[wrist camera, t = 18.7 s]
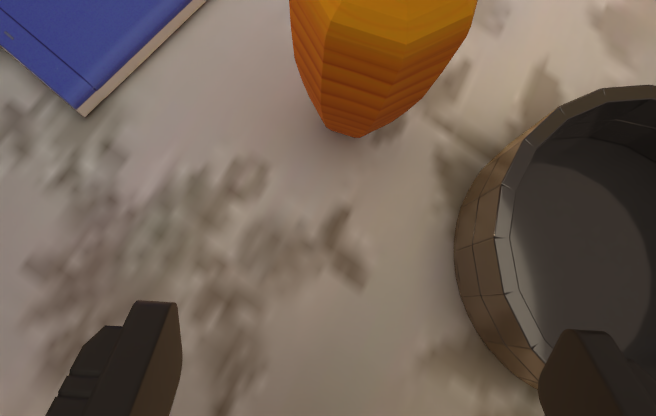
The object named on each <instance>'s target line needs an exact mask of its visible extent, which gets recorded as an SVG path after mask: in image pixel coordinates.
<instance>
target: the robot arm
mask: <svg viewBox="0 0 656 416" xmlns="http://www.w3.org/2000/svg"><path fill="white" fill-rule="evenodd" d="M181 369H182V344H181V335H180V325H179V316H178V308H177V304H176V303H174V302H159V301H143V300H137V301H136V302H135V303H134V304H133V306H132V308H131V310H130V312H129V314H128V316H127V318H126V320H125V323H124V325H123V327H122V326H106V325H105V326H104V327H103V328H102V329H101V330H100V331H99V332H98V333H96V334H95V335H94V336H93V337H92V338H91V339H90V340H89V341H88V342H87V343H86V344H84V345H83V347H82V349H81V350H80V352H79V354H78V356H77V358H76V360H75V362H74V363H73V365H72V367H71V369H70V373H69V376H66V378H65V380H64V382H63V384H62V386H61V388H60V389H59V391H58V396H57V397H55V399H54V401H53V402H52V404H51V406H50V408H49V410H48V412H47V414H46V415H45V416H169V414H170V410H171V407H172V404H173V400H174V397H175V394H176V390H177V387H178V384H179V380H180V375H181ZM538 394H539V399H540V403H541V406H542V408H543V411H544V413H545V416H656V380H655V379H654V378H653V377H652V376H650V375H649V374H648V373H647V372H646V371H645V370H644V369H643V368H642V367H641V366H639V365H638V364H637V363H636V362H635V361H634V360H633V359H626V358H625V356H624V355H623V353H622V352H621V350H620V349H619V347H618V346H617V344H616V342H615V341H614V339H613V338H612V337H611V336H610V335H609V334H608V333H606V332H604V331H592V330H577V329H566V330H564V331H563V332H562V333H561V335H560V337H559V339H558V341H557V342H556V344H555V346H554V348H553V350H552V352H551V354H550V356H549V358H548V360H547V362H546V364H545V366H544V368H543V370H542V372H541V374H540V377H539V381H538Z"/></svg>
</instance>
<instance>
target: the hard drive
mask: <svg viewBox="0 0 656 416" xmlns="http://www.w3.org/2000/svg"><path fill="white" fill-rule="evenodd" d="M206 1H207V0H0V46H1V47H2V48H3V49H5V50H6V51H7V52H8V53H9V54H10V55H12V56H13V57H14V58H15V59H16V60H17V61H19V62H20V63H21V64H22V65H23V66H24V67H26V68H27V69H28V70H29V71H30V72H31V73H33V74H34V75H35V76H36V77H37V78H38V79H40V80H41V81H42V82H43V83H44V84H45V85H47V86H48V87H49V88H50V89H51V90H53V91H54V92H55V93H56V94H57V95H58V96H59V97H61V98H62V99H63V100H64V101H65V102H67V103H68V104H69V105H70V106H71V107H72V108H74V109H75V110H76V111H77V112H78V113H79V114H80V115H82V116H83V117H86V116H87V115H88V114H89V113H90V112H91V111H92V110H93V109H94V108H95V107H96V106H97V105H98V104H99V103H100V102H101V101H102V100H103V99H104V98H106V97H107V96H108V95H109V94H110V93H111V92H112V91H113V90H114V89H115V88H116V87H117V86H118V85H119V84H120V83H122V82H123V81H124V80H125V79H126V78H127V77H128V76H129V75H130V74H131V73H132V72H133V71H134V70H135V69H136V68H137V67H138V66H139V65H140V64H141V63H142V62H143V61H144V60H145V59H146V58H147V57H149V56H150V55H151V54H152V53H153V52H154V51H155V50H156V49H157V48H158V47H159V46H160V45H161V44H162V43H163V42H164V41H165V40H166V39H167V38H168V37H169V36H170V35H171V34H172V33H173V32H174V31H175V30H176V29H178V28H179V27H180V26H181V25H182V24H183V23H184V22H185V21H186V20H187V19H188V18H189V17H190V16H191V15H192V14H193V13H194V12H195V11H196V10H197V9H198V8H199V7H200V6H201V5H203V4H204V3H205V2H206Z"/></svg>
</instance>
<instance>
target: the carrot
mask: <svg viewBox="0 0 656 416" xmlns="http://www.w3.org/2000/svg"><path fill="white" fill-rule="evenodd" d="M477 1H478V0H289V5H290V21H291V31H292V40H293V48H294V57H295V61H296V64H297V67H298V70H299V73H300V76H301V79H302V81H303V84H304V86H305V88H306V90H307V93H308V95H309V97H310V99H311V101H312V103H313V105H314V106H315V108H316V110H317V112H318V114H319V115H320V117H321V119H322V121H323V123H324V124H325V126H326V127H327V128H328V129H330V130H332V131H335V132H338V133H341V134H344V135H348V136H351V137H354V138H360V137H362V136H364V135H366V134H368V133H370V132H372V131H374V130H376V129H379V128H381V127H383V126H385V125H387V124H389V123H391V122H392V121H394V120H395V119H396V118H398V117H399V116H401V115H402V114H404V113H405V112H406V111H408V110H409V109H410V108H411V107H412V106H413V105H415V104H416V103H417V102H418V101H419V100H421V99H422V98H423V96H424V95H425V94H426V93H427V91H428V90H429V89H430V87H431V86H432V85H433V83H434V82H435V81H436V79H437V78H438V77H439V76H440V74H441V73H442V72H443V70H444V69H445V67H446V66H447V64H448V63H449V61H450V60H451V58H452V57H453V56H454V54H455V53H456V51H457V50H458V48H459V47H460V45H461V44H462V42H463V41H464V39H465V38H466V36H467V34H468V32H469V29H470V27H471V24H472V20H473V16H474V12H475V9H476V5H477Z"/></svg>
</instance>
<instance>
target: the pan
mask: <svg viewBox="0 0 656 416" xmlns="http://www.w3.org/2000/svg"><path fill="white" fill-rule="evenodd" d="M454 265H455V273H456V280H457V284H458V288H459V292H460V296H461V299H462V301H463V304H464V306H465V309H466V312H467V314H468V316H469V318H470V320H471V322H472V324H473V326H474V328H475V329H476V331H477V333H478V334H479V336H480V337H481V339H482V340H483V342H484V343H485V344H486V346H487V347H488V349H489V350H490V351H491V352H492V353H493V354H494V355H495V356H496V358H497V359H498V360H499V361H500V362H501V363H502V364H503V365H504V366H505V367H506V368H508V369H509V370H510V371H511V372H512V373H513V374H514V375H516V376H517V377H518V378H520V379H521V380H523V381H524V382H526V383H527V384H529V385H530V386H532V387H533V388H535V389H537V390H538V381H539V377H540V374H541V372H542V370H543V368H544V366H545V364H546V362H547V360H548V358H549V356H550V354H551V352H552V350H553V348H554V346H555V344H556V342H557V341H558V339H559V337H560V335H561V333H562V332H563V331H564V330H566V329H577V330H592V331H604V332H606V333H608V334H609V335H610V336H611V337H612V338H613V339H614V341H615V342H616V344H617V346H618V347H619V349H620V350H621V352H622V353H623V355H624V356H625V358H626V359H633V360H634V361H635V362H636V363H637V364H638V365H639V366H641V367H642V368H643V369H644V370H645V371H646V372H647V373H648V374H649V375H650V376H652V377H653V378H654V379H655V380H656V86H653V85H639V86H625V87H612V88H602V89H598V90H596V91H594V92H591V93H589V94H587V95H584V96H582V97H580V98H577V99H575V100H573V101H570V102H568V103H566V104H563V105H561V106H559V107H557V108H556V109H555V110H553V111H552V112H551V113H549V114H548V115H547V116H545V117H544V118H543V119H541V120H540V121H539V122H537V123H536V124H535V125H533V126H532V127H531V128H529V129H528V130H527V131H526V132H524V133H523V134H522V135H520V136H519V137H518V138H516V139H515V140H514V141H512V142H511V143H510V144H509V145H507V146H506V147H505V148H504V149H503V150H502V151H501V152H500V153H499V154H498V155H497V156H495V157H494V158H493V159H492V160H491V161H490V162H489V163H488V164H487V165H486V166H485V167H484V168H483V169H482V170H481V171H480V173H479V174H478V176H477V177H476V179H475V180H474V182H473V184H472V185H471V187H470V188H469V190H468V192H467V194H466V197H465V199H464V201H463V204H462V206H461V209H460V213H459V216H458V220H457V223H456V230H455V238H454Z"/></svg>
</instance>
